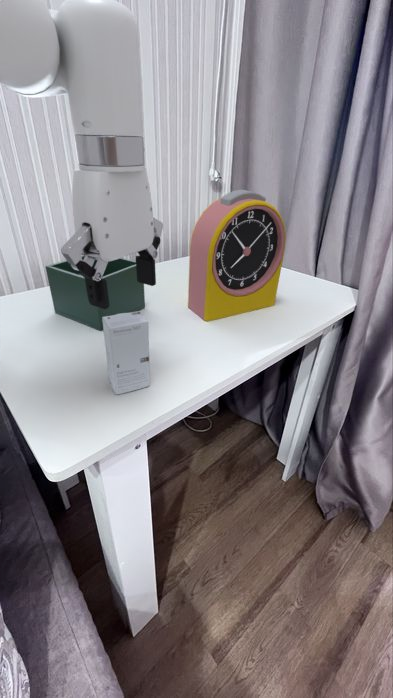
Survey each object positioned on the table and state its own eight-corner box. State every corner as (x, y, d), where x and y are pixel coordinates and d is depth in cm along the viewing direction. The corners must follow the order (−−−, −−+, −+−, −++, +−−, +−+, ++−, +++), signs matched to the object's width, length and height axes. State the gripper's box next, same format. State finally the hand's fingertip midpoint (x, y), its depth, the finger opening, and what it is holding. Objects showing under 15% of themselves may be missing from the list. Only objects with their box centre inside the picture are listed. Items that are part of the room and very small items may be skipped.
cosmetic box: (115, 396, 53) (108, 329, 46) (108, 380, 56) (99, 316, 49) (152, 385, 55) (149, 321, 49) (142, 371, 59) (139, 309, 52)
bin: (100, 331, 70) (94, 281, 64) (55, 312, 76) (45, 266, 70) (145, 307, 80) (143, 262, 75) (101, 292, 87) (96, 250, 81)
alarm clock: (205, 321, 75) (214, 195, 61) (186, 306, 82) (189, 189, 68) (275, 305, 85) (296, 192, 70) (253, 292, 91) (268, 186, 77)
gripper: (136, 152, 46) (143, 271, 55) (22, 155, 33) (56, 309, 42) (181, 154, 42) (180, 281, 52) (73, 159, 30) (98, 325, 39)
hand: (124, 294), depth 47 cm, fingers open, 9 cm apart
